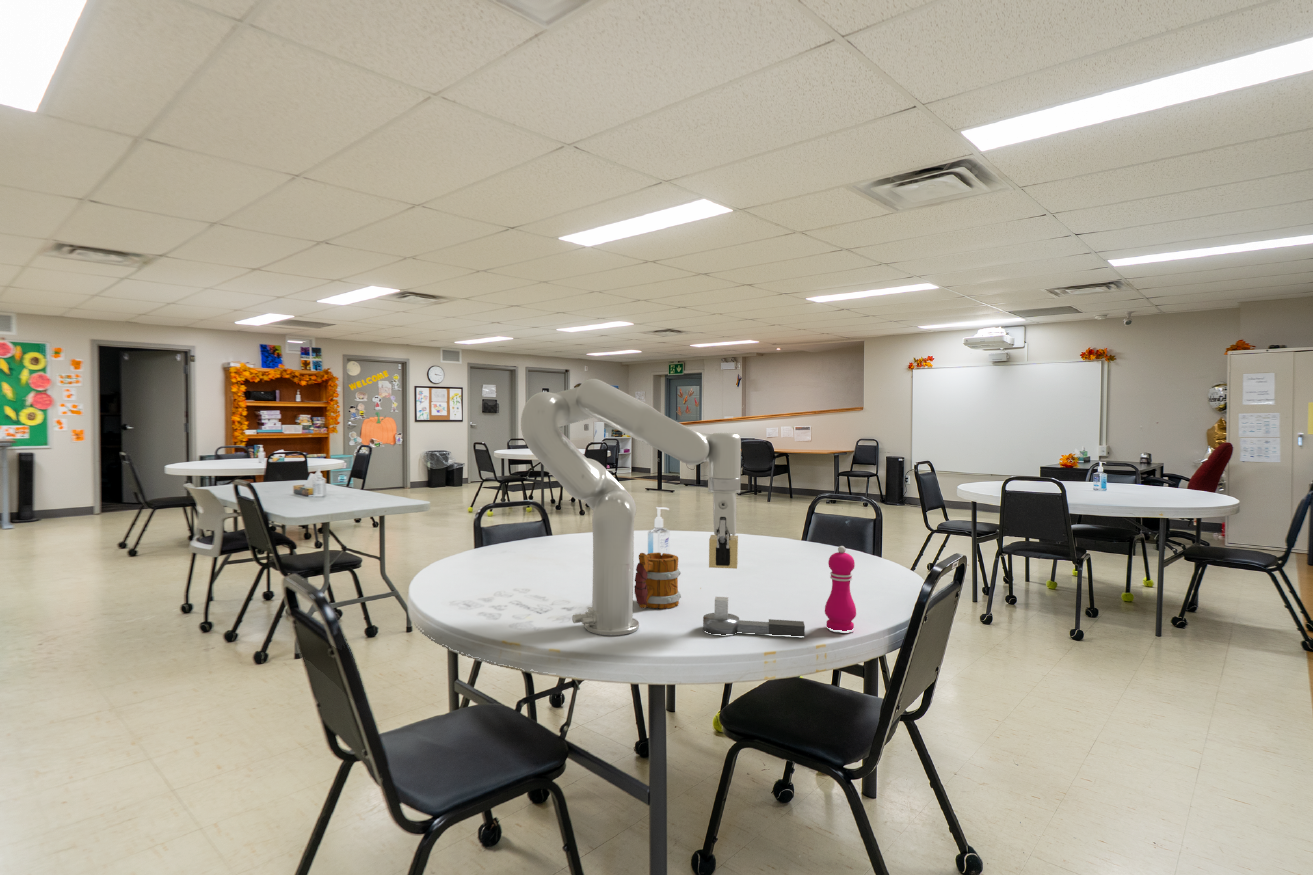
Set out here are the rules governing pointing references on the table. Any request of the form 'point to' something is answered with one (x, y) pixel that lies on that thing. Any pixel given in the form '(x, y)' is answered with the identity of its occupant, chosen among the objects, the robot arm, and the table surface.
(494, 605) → the table surface
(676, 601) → the mug
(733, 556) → the wooden cube
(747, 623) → the ratchet
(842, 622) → the pepper mill
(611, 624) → the robot arm
